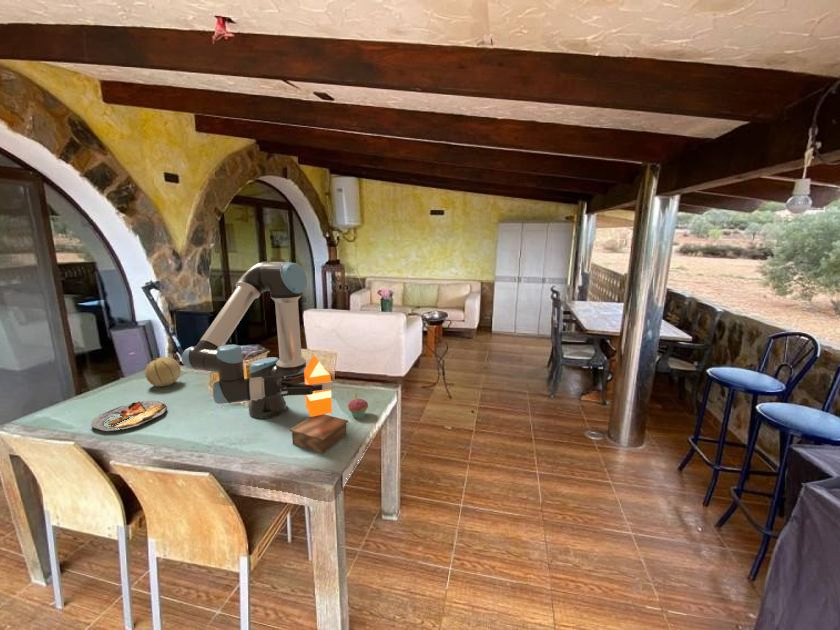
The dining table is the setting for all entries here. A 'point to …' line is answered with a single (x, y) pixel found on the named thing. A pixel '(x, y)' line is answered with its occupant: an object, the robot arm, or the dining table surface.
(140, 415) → the food plate
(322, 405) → the orange juice
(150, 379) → the cantaloupe
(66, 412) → the dining table surface
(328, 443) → the walnut riser
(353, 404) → the cupcake
